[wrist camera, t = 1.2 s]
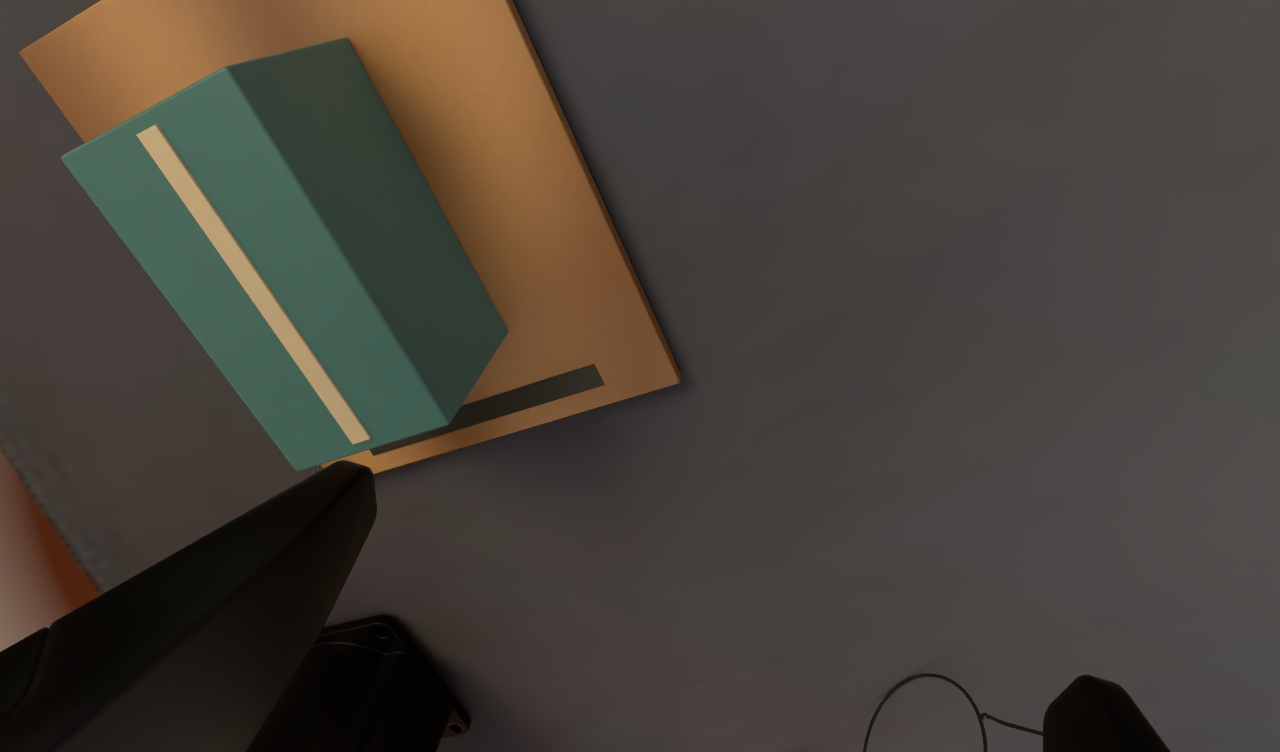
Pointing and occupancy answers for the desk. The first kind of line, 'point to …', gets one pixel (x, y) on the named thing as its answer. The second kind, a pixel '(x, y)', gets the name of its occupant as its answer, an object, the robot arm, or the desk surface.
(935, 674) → the eyeglasses
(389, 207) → the green parcel
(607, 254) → the wooden cutting board
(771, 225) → the desk surface
